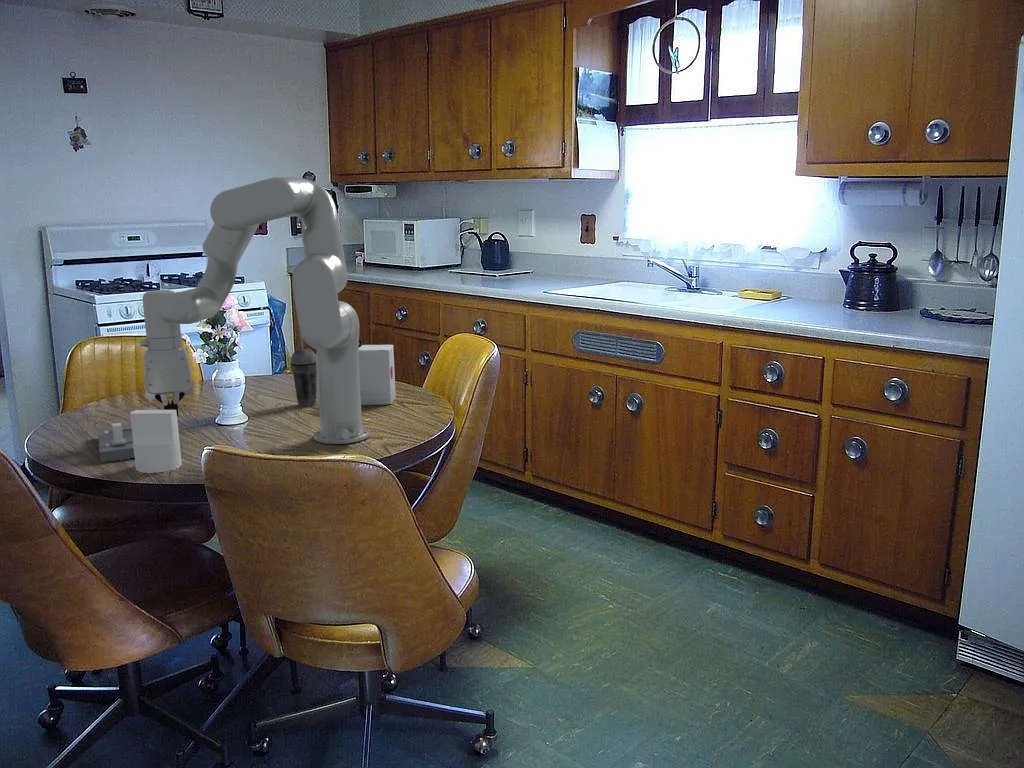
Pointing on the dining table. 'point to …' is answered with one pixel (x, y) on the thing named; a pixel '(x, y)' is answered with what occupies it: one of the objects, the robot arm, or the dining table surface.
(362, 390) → the supplement box
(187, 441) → the dining table surface
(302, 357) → the beverage cup
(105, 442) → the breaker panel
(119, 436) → the block
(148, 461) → the grey upright block
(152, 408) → the breaker
